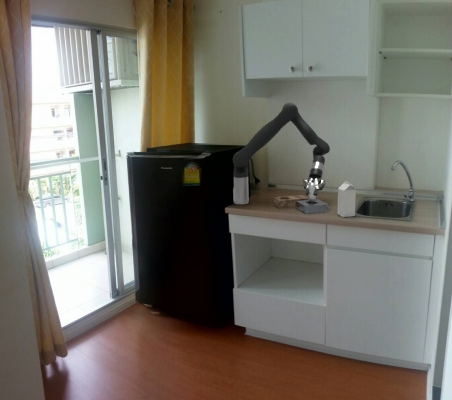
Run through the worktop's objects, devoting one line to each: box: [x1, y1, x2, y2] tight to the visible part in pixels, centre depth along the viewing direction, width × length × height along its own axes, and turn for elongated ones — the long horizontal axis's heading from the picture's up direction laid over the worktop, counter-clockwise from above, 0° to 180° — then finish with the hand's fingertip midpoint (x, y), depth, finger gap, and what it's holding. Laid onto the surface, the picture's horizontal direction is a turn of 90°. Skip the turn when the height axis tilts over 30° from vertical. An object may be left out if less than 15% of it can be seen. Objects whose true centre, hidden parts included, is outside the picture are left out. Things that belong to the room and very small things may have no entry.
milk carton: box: [336, 180, 357, 218], centre depth 229 cm, size 7×7×19 cm
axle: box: [308, 182, 317, 204], centre depth 243 cm, size 4×4×16 cm
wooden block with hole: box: [273, 194, 309, 210], centre depth 256 cm, size 20×10×5 cm, turn 102°
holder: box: [295, 198, 329, 215], centre depth 244 cm, size 14×14×4 cm
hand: (311, 194), depth 241 cm, fingers open, 4 cm apart
